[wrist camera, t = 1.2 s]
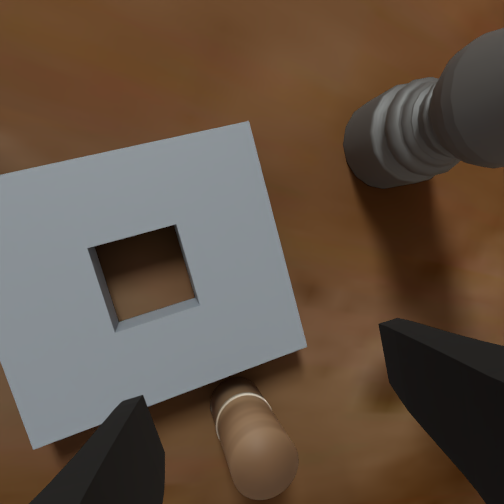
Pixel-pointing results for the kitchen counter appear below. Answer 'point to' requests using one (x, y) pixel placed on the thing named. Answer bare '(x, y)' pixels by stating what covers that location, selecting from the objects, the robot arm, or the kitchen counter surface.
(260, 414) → the peg
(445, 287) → the kitchen counter surface
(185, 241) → the board
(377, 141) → the candle holder
